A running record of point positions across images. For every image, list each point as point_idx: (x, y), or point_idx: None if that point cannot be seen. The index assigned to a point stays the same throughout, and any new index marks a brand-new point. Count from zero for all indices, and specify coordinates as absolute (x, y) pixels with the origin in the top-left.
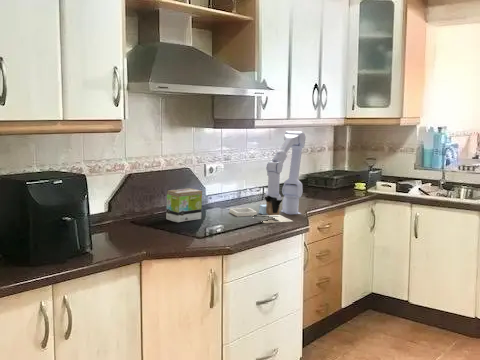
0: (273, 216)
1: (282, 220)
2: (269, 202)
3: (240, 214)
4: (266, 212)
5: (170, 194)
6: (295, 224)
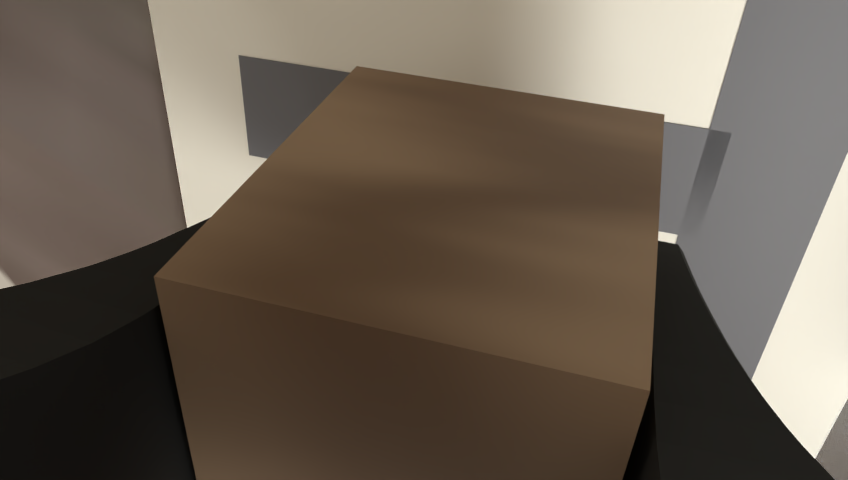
0: (718, 310)
1: None
2: (383, 369)
3: None
4: (633, 122)
5: None
6: (65, 266)
